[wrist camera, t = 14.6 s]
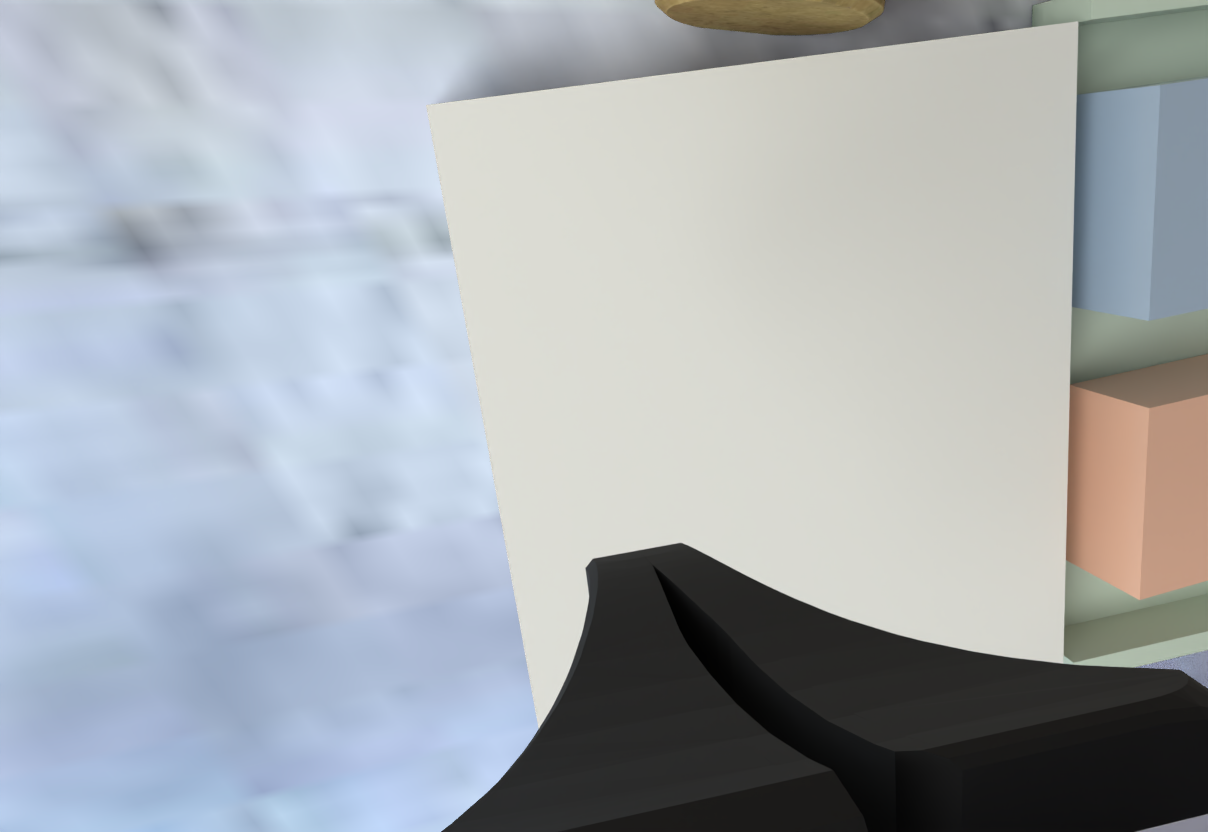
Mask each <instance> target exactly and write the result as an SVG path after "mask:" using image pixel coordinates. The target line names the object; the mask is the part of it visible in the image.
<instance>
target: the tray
mask: <svg viewBox="0 0 1208 832" xmlns="http://www.w3.org/2000/svg"><path fill="white" fill-rule="evenodd" d="M1077 21H1078V59H1077V95H1078V94H1085V93H1092V92H1099V91H1106V90H1113V89H1120V88H1127V87H1134V86H1141V85H1148V84H1155V83H1162V82H1169V81H1175V80H1182V79H1189V78H1196V77H1203V76H1208V0H1051V1H1047V2H1044V3H1040V4H1036V5H1033V6H1032V27H1038V26H1046V25H1053V24H1061V23H1069V22H1077ZM1205 354H1208V309H1203V310H1198V311H1194V312H1189V313H1184V314H1179V315H1175V316H1170V317H1165V318H1160V319H1156V320H1151V321H1147V320H1141V319H1136V318H1130V317H1125V316H1119V315H1114V314H1108V313H1103V312H1097V311H1092V310H1086V309H1081V308H1075V307H1072V315H1071V357H1070V384H1074V383H1079V382H1083V381H1088V380H1092V379H1097V378H1101V377H1106V376H1110V375H1115V374H1119V373H1124V372H1128V371H1133V370H1137V369H1142V368H1146V367H1151V366H1155V365H1160V364H1164V363H1169V362H1173V361H1178V360H1182V359H1187V358H1191V357H1196V356H1200V355H1205ZM1206 650H1208V581H1205V582H1201V583H1198V584H1194V585H1191V586H1187V587H1184V588H1180V589H1177V590H1173V591H1170V592H1166V593H1163V594H1159V595H1156V596H1152V597H1149V598H1145V599H1142V600H1138V599H1137V598H1135V597H1133V596H1131V595H1129V594H1127V593H1126V592H1124V591H1122V590H1120V589H1118V588H1116V587H1114V586H1113V585H1111V584H1109V583H1107V582H1105V581H1103V580H1102V579H1100V578H1098V577H1096V576H1094V575H1092V574H1091V573H1089V572H1087V571H1085V570H1083V569H1081V568H1080V567H1078V566H1076V565H1074V564H1072V563H1070V562H1069V561H1067V560H1066V570H1065V613H1064V655H1063V664H1073V665H1089V666H1110V667H1131V668H1134V667H1138V666H1142V665H1147V664H1151V663H1155V662H1159V661H1164V660H1168V659H1172V658H1176V657H1180V656H1185V655H1189V654H1193V653H1197V652H1202V651H1206Z"/></svg>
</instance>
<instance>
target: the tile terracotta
mask: <svg viewBox="0 0 1208 832" xmlns="http://www.w3.org/2000/svg"><path fill="white" fill-rule="evenodd" d="M1066 560H1067V561H1069V562H1070V563H1072V564H1074V565H1076V566H1078V567H1080V568H1081V569H1083V570H1085V571H1087V572H1089V573H1091V574H1092V575H1094V576H1096V577H1098V578H1100V579H1102V580H1103V581H1105V582H1107V583H1109V584H1111V585H1113V586H1114V587H1116V588H1118V589H1120V590H1122V591H1124V592H1126V593H1127V594H1129V595H1131V596H1133V597H1135V598H1137V599H1138V600H1142V599H1145V598H1149V597H1152V596H1156V595H1159V594H1163V593H1166V592H1170V591H1173V590H1177V589H1180V588H1184V587H1187V586H1191V585H1194V584H1198V583H1201V582H1205V581H1208V354H1205V355H1200V356H1196V357H1191V358H1187V359H1182V360H1178V361H1173V362H1169V363H1164V364H1160V365H1155V366H1151V367H1146V368H1142V369H1137V370H1133V371H1128V372H1124V373H1119V374H1115V375H1110V376H1106V377H1101V378H1097V379H1092V380H1088V381H1083V382H1079V383H1074V384H1070V400H1069V442H1068V485H1067V528H1066Z"/></svg>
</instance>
